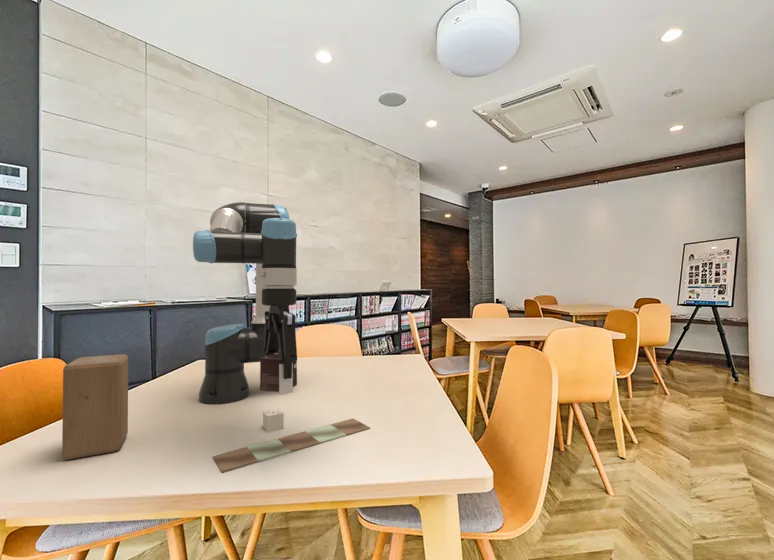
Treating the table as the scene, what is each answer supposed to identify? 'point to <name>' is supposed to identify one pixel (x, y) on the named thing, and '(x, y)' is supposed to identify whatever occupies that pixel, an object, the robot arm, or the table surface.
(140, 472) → the table surface
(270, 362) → the box
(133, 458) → the table surface
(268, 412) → the die
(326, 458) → the table surface
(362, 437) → the table surface
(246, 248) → the robot arm
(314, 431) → the track
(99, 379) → the wooden block
